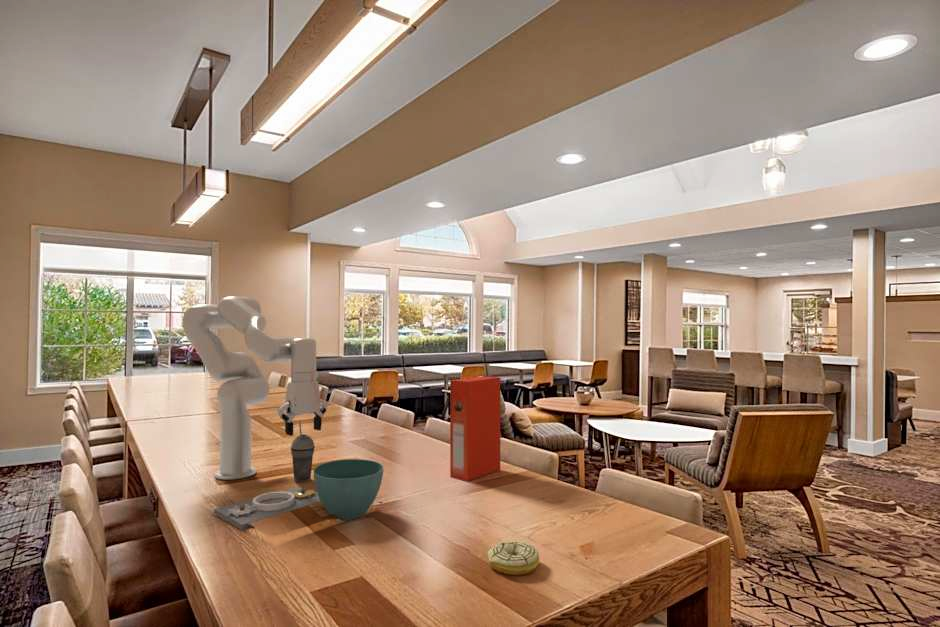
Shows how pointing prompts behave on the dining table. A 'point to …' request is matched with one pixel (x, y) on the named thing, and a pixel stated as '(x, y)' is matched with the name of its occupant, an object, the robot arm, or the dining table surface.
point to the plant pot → (348, 486)
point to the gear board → (262, 514)
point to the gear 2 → (303, 494)
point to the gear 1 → (241, 511)
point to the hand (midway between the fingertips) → (303, 432)
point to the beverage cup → (302, 457)
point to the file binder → (474, 427)
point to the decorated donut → (513, 558)
